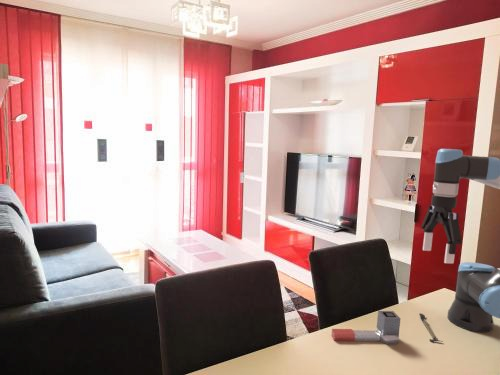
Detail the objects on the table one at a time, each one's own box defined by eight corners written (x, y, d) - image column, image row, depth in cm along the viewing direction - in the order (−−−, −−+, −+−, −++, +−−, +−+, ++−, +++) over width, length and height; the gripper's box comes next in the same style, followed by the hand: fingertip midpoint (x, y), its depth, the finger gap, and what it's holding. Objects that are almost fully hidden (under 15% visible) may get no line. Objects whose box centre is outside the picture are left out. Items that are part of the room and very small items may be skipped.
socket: (391, 327, 130) (393, 311, 129) (398, 335, 125) (400, 318, 124) (376, 327, 130) (378, 310, 129) (382, 335, 124) (384, 318, 124)
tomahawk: (451, 348, 126) (451, 345, 125) (430, 344, 127) (430, 341, 127) (435, 318, 146) (435, 316, 146) (417, 315, 147) (417, 312, 147)
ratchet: (392, 333, 131) (395, 310, 130) (401, 344, 124) (404, 319, 123) (329, 332, 130) (331, 308, 129) (335, 343, 123) (337, 318, 122)
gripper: (415, 189, 137) (409, 245, 140) (456, 201, 113) (447, 268, 115) (434, 190, 138) (428, 246, 141) (480, 202, 113) (471, 269, 116)
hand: (437, 256), depth 128 cm, fingers open, 13 cm apart
